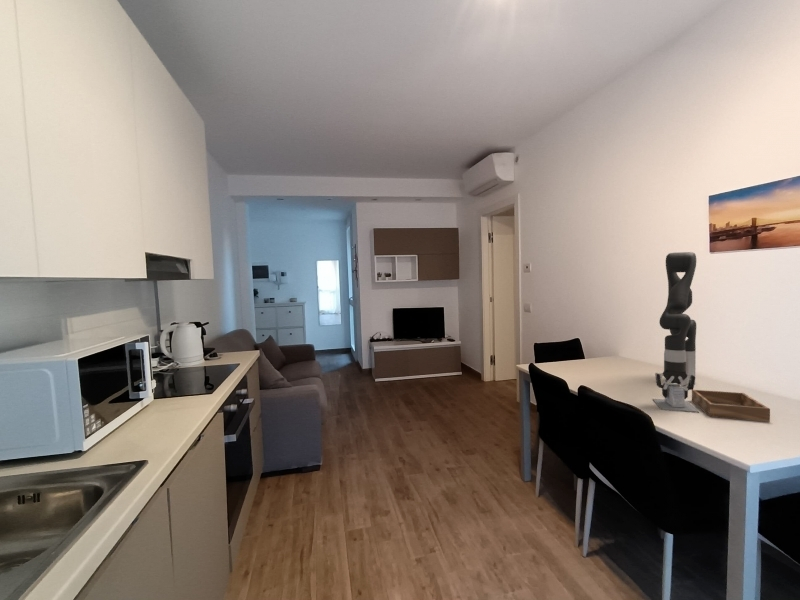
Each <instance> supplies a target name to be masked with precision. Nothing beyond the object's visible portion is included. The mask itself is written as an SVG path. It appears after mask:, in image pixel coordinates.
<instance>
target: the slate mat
mask: <svg viewBox="0 0 800 600" xmlns="http://www.w3.org/2000/svg"><path fill="white" fill-rule="evenodd" d="M652 401H653V402H654V403H655V404H656V406H657V407H658V408H659V409H660V410H662V411H663V410H664V411H674V412H685V413H695V414H696V413H700V411H699V410H698V408H696V407H695V406H694V405H693V404H691V402H689V401H688V400H685V407H684V408H681V407H673V406H671V405H670V404H668V403H667V402H665V398H664V399H663V398H652Z"/></svg>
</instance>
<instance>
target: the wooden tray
mask: <svg viewBox="0 0 800 600" xmlns="http://www.w3.org/2000/svg"><path fill="white" fill-rule="evenodd" d="M691 402H693V403H694V404H695V405H696V406H697V407H699V408H700V410H702V411H703V412H704V413H706V414H707V415H708V416H709V417H711V418H724V419H735V420H745V421H746V420H747V421H757V422H766V423H767V422H768V423H770V422H771V409H770V408H769V407H768V406H766V405H764V404H763V403H761V402H759V401H758V400H756V399H754V398H753V397H751V396H749V395H748V394H746V393H744V392H734V391H733V392H732V391H722V390H721V391H716V390H707V389H706V390H705V389H693V390H691Z"/></svg>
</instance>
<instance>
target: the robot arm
mask: <svg viewBox="0 0 800 600" xmlns="http://www.w3.org/2000/svg"><path fill="white" fill-rule="evenodd" d="M696 268H697V255H696V253H695V252H692V251H690V252H689V251H684V252H683V251H682V252H670V253H668V254H667V255H666V257H665V270H666V276H667V284H668V285H667V286H668V287H667V288H668V290H667V291H668V292H667V293H668V294H667V301H666V306H665V308H664V310H663V312H662V313H661V315H660V317H659V326H660V327H661V329H664V330H669V333H670V334H668V335H666V336H665V338H664V351H663V352H664V353H663V372H659V373H658V372H655V374H654V375H655V382H656V386H657V387H658V388H660V389H661V395H662V397H663V398H664V397H665V398H667V387H668V386H669V385H670V383H677V384H678V385H680V386H682V387H684V397H685V400H686V399H687V398H689V391H690V390H691V391H692V390H694V388H695V385H696V369H697V368H696V366H697V365H696V363H697V362H696V357H697V356H696V352H697V351H696V348H697V347H696V338H697V322H696V320H694V319H691V317H690V316H689V315H688V314H686V313H685V312H686V311H687V310H688V309H690V307H691V306H692V304H693V290H692V289H691V286H692V283H693V279H694V276H695V272H696ZM678 273H684V275H682V277H681V278H680V276H679V275H678ZM663 377H664V379H665V380H663V382H662V381H661V379H662V378H663ZM665 398H664V399H665Z"/></svg>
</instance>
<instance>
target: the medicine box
mask: <svg viewBox="0 0 800 600" xmlns="http://www.w3.org/2000/svg"><path fill="white" fill-rule="evenodd" d="M663 398H664V399H665V402H667V403H668V404H670V405H671V406H673V407H681V408H684V407H685V401H686V399H685V397H684V387H682V386H681V384H677V383H670V385H669V386H668V387H667V398H665V397H664V396H663Z"/></svg>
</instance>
